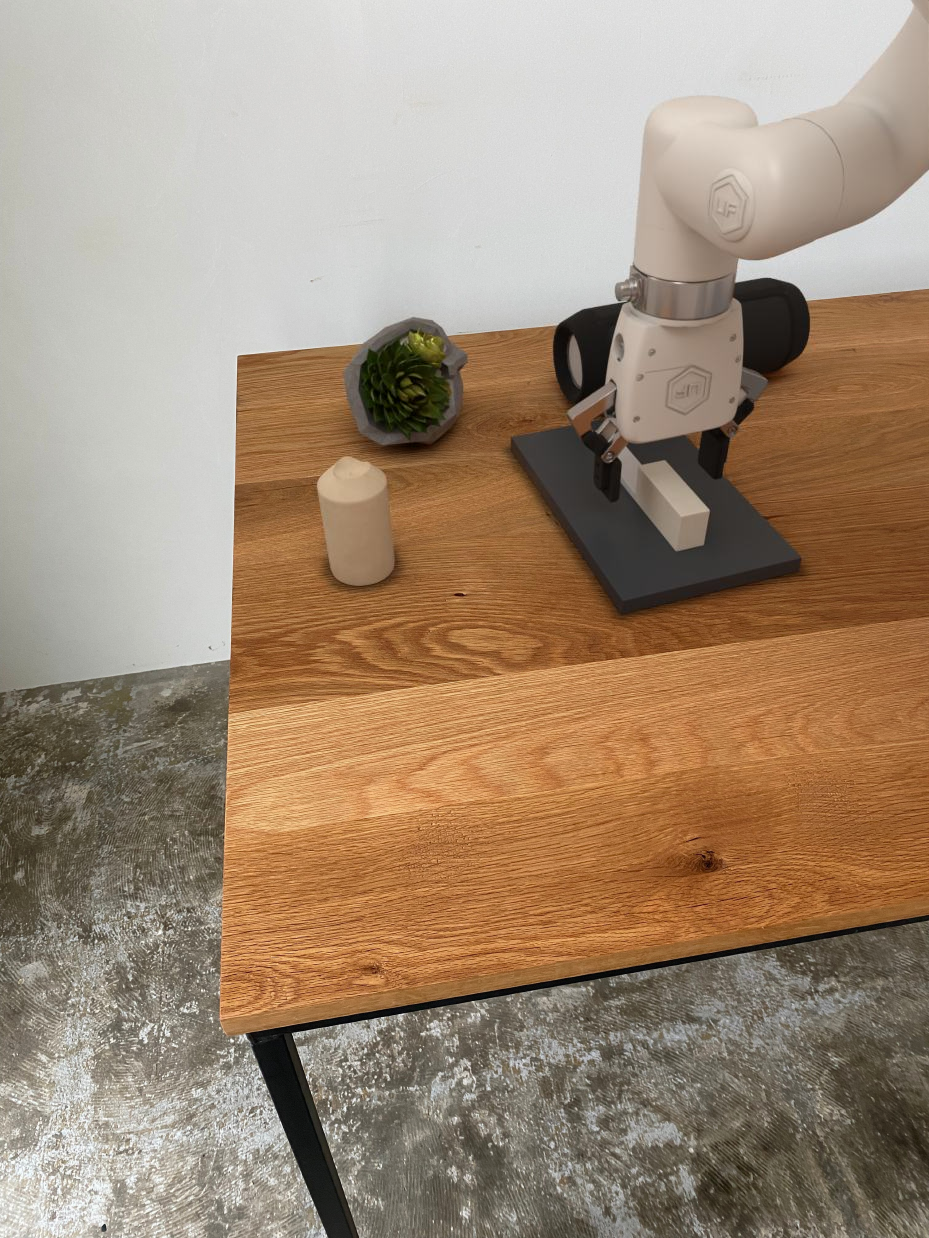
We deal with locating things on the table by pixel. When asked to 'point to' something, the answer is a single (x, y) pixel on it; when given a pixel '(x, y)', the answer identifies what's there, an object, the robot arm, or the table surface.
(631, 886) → the table surface
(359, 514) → the candle
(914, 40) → the robot arm
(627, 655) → the table surface
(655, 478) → the white stepped bar
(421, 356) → the potted plant
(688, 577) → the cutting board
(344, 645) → the table surface
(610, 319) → the portable speaker
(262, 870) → the table surface
